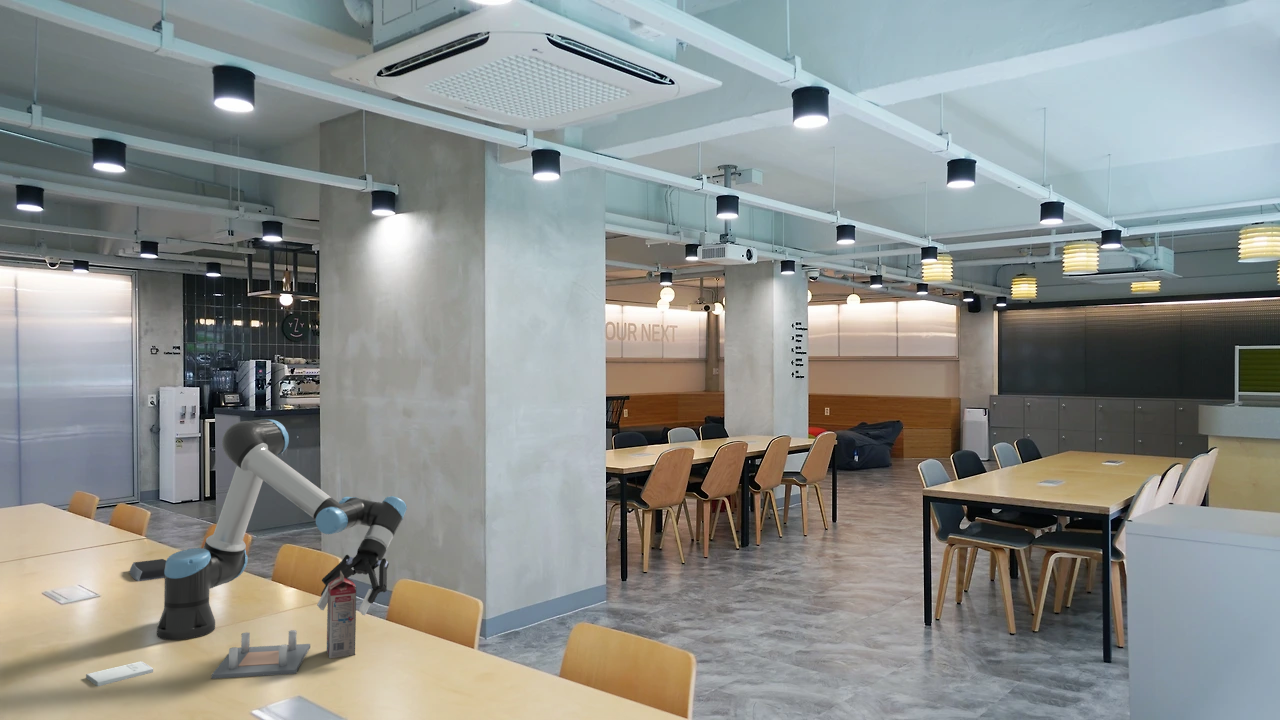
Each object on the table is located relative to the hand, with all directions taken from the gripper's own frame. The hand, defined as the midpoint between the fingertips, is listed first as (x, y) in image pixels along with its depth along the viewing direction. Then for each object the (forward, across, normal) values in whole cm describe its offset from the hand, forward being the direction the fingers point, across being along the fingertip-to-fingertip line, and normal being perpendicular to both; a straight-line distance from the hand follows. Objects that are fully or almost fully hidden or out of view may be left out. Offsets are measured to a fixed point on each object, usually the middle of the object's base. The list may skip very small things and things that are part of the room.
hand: (340, 610), depth 222 cm
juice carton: (+8, 0, -9) cm, 12 cm away
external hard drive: (-25, +122, -43) cm, 131 cm away
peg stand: (+17, +15, 0) cm, 23 cm away
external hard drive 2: (+31, +42, +13) cm, 54 cm away
